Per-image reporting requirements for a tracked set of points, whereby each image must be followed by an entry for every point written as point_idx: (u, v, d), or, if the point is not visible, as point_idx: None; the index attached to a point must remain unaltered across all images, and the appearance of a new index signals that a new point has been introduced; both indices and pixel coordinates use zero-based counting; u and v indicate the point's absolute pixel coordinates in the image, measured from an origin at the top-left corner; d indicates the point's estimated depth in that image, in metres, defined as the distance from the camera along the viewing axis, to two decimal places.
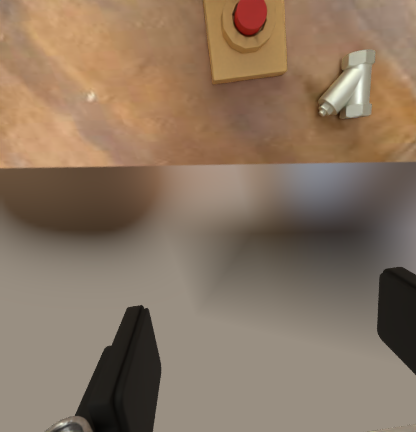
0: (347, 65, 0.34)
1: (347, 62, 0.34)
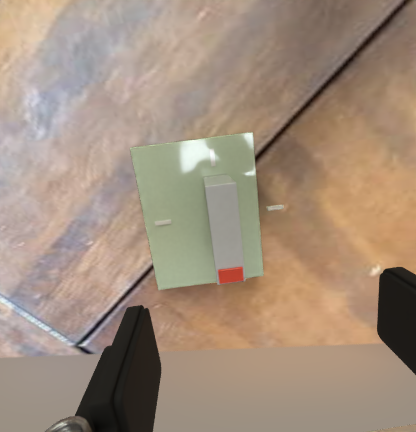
0: None
1: None
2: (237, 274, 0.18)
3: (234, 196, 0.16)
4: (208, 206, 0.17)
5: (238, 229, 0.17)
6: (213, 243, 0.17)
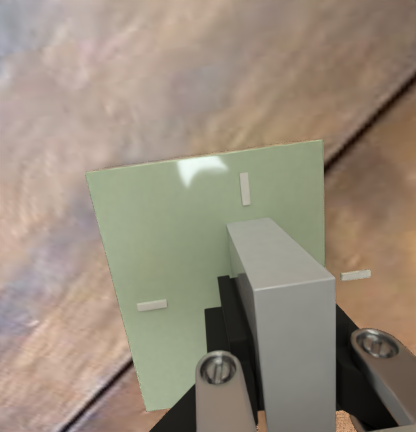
0: None
1: None
2: None
3: (328, 310, 0.06)
4: (260, 335, 0.06)
5: (330, 381, 0.07)
6: (268, 413, 0.07)
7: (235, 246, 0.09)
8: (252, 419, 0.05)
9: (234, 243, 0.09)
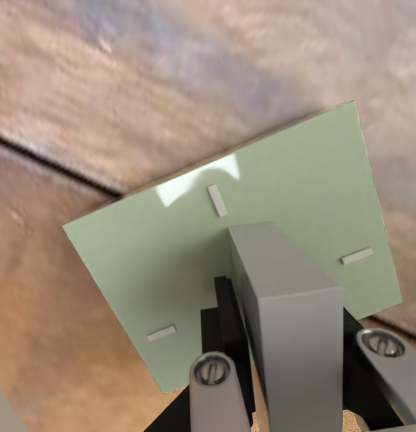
0: None
1: None
2: None
3: (335, 320, 0.06)
4: (264, 345, 0.06)
5: (337, 393, 0.07)
6: (272, 425, 0.07)
7: (238, 252, 0.09)
8: (246, 419, 0.05)
9: (237, 248, 0.09)
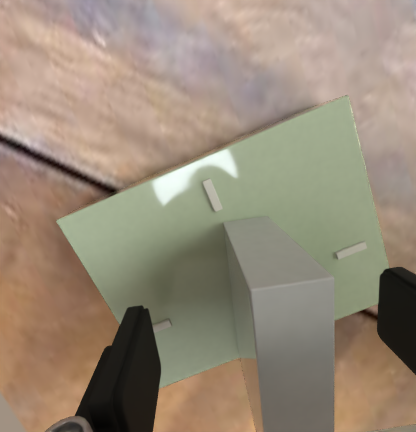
0: None
1: None
2: None
3: (326, 310, 0.06)
4: (257, 336, 0.06)
5: (329, 383, 0.07)
6: (265, 415, 0.07)
7: (232, 245, 0.09)
8: None
9: (231, 242, 0.09)
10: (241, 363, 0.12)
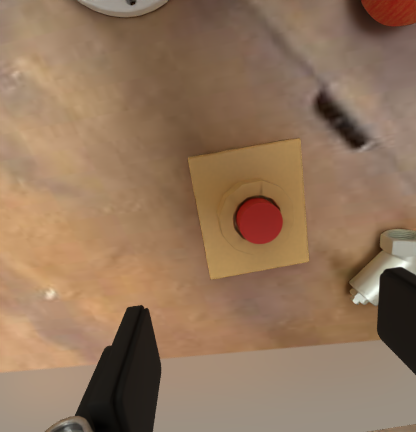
0: (390, 251, 0.26)
1: (390, 248, 0.26)
2: None
3: None
4: None
5: None
6: None
7: None
8: None
9: None
10: None
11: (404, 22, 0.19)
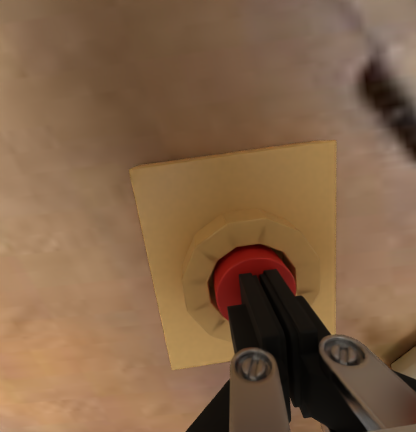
0: None
1: None
2: None
3: None
4: None
5: None
6: None
7: None
8: (286, 421, 0.05)
9: None
10: None
11: None
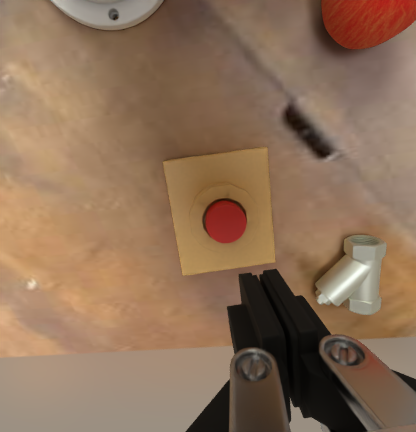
0: (351, 255, 0.27)
1: (351, 252, 0.27)
2: None
3: None
4: None
5: None
6: None
7: None
8: (287, 420, 0.05)
9: None
10: None
11: (360, 46, 0.21)
